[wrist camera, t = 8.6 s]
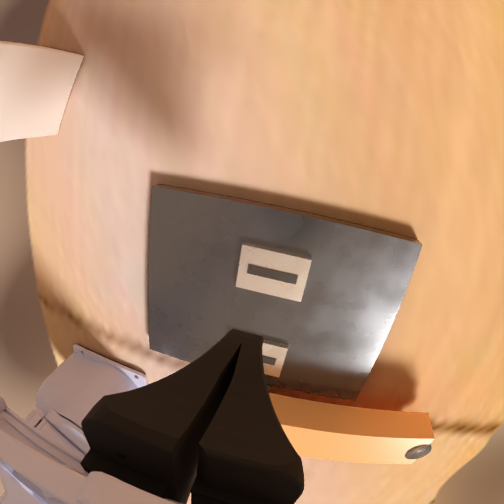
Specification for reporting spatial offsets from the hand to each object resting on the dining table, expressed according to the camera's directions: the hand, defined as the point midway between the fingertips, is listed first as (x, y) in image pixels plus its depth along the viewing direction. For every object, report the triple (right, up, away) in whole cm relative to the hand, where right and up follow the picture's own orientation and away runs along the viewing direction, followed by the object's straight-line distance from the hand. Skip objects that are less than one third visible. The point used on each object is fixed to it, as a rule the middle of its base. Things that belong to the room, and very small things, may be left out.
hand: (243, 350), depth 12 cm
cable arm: (+7, -10, +10) cm, 16 cm away
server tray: (+1, -1, +10) cm, 11 cm away
